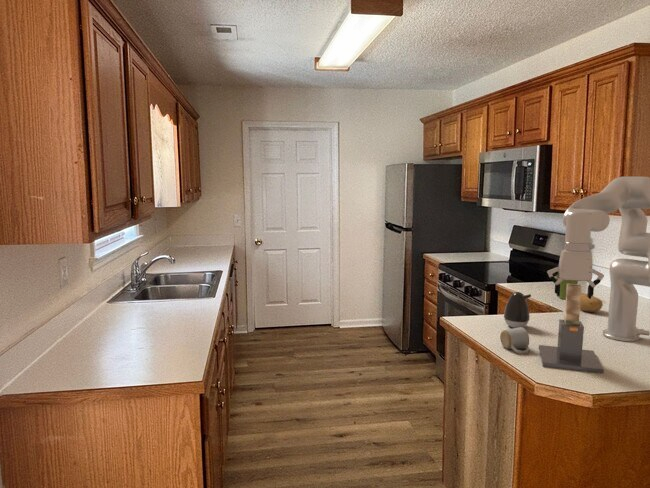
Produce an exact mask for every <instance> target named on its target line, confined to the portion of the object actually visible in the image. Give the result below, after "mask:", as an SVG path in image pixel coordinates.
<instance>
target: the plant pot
mask: <svg viewBox="0 0 650 488" xmlns="http://www.w3.org/2000/svg"><path fill="white" fill-rule="evenodd" d="M558 277H559V276H558V275H555V276H554V278H555V279H557V278H558ZM578 282H579V281H571V280H563V281H562V282H560V296H557V297H558V299H559V300H566V289H567V284H579V283H578Z"/></svg>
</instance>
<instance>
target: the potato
mask: <svg viewBox="0 0 650 488" xmlns="http://www.w3.org/2000/svg"><path fill="white" fill-rule="evenodd" d="M603 304H604V303H603V301H602V300H601V299H600V298H598V297H596V296H594V295H593V296H591V299H589V298H588V297H587V293H583V292H581V302H580V310H581V311H583V312H590V313H595V312H598V311H600V310H601V309H602V308H603V306H604V305H603Z"/></svg>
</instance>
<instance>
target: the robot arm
mask: <svg viewBox="0 0 650 488" xmlns="http://www.w3.org/2000/svg"><path fill="white" fill-rule="evenodd" d="M642 209H644V210H650V177H649V176H619V177H616V178H614V179H612V180H611V181H610V182H609V183H608V184H607V185H606V186H605V187H604V188H603V189H602V190H601V191H600V192H598V193H594V194H591V195H589V196H586V197H582V198H581V199H578V200H576V201H574V202H573V203H572V204H570V206H569V207H568V208H567V209H566V210H565V212H564V213H563V216H562V223H563V226H564V227H565V237H564V249H562V250H561V252H560V255H559V260H558V261H559V262H558V266H557V267H554V268H552V269H549V270H547V272H546V273H547V275H548V277H549V279H550V280H551V281H552V282H553V283H554V294H556V297H558V296H560V282H562V281H563V280H571V281H578V282H587V283H588V286H587V293H586V294H587V297H588V298H589V299H591V296H594V290H595V287H596V286H597V285H598V284H600V283H601V281H602V280H603V278H604V277H605V274H604V273H602V272H601V271H599V270H596V269H594V268H593V255H592V251H591V250H592V249H595V244H592V243H591V232H593V233H594V232H596V233H597V232H598V233H600V232H603V231H604V230H606V229H607V228H608V227H609V224H610V215H609V214H611V213H614V212H617V211H619V213H620V216H621V224H620V225H621V226H620V230H619V231H620V232H619V236H618V237H619V238H618V242H617V243H618V245H617V247H618V252H619V253H620V254H622V255H624V256H630V257H637V258H639V257H640V258H645V259H648V261H647V260H639V259H634V258H633V259H632V258H624V257H623V258H616V259H615V260H612V261H611V263H610V265H609V278H610V280H609V281H610V294H609V295H610V296H609V305H608V306H609V307H608V318H607V328H606V329H604V330H603V331H602V335H603V336H604V337H606V338H609V339H611V340H615V341H621V342H637V341H640V336H650V330H646V329H643V328H638V327H637V316H638V306H639V293H638V291H637V288H636V287H635V286H634V285H637V286H643V287H649V288H650V232H647V228H648V221H649V220H648V218H647V215H646V213H645V212H644V211H643V210H642ZM556 272H557V276H559V277H558V278H557V279H555V276H554V275H553V274H556ZM593 275H595V276H597V278H595V279H594V280H592V279H593Z"/></svg>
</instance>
